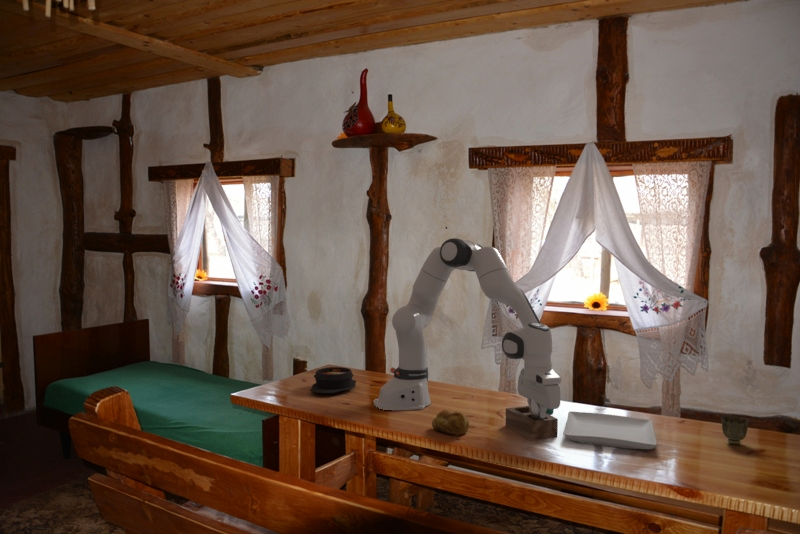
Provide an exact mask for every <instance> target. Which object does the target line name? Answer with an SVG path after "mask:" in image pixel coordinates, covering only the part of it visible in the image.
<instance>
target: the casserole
mask: <svg viewBox="0 0 800 534" xmlns="http://www.w3.org/2000/svg"><path fill="white" fill-rule="evenodd" d="M354 376H355V375H354V373H353V371H352V369H350V368H347V367H342V366H329V367H322V368H319V369H317V370H316V371H315V374H314V375H313V377H314V379H315V383H313V384H312V385H311V387H310V389H309V391H311V392H312V393H317V394H327V395H328V394H337V393H344V392H347V391H348V390H349V391H350V390H351V389H353V388H355V387H356V383H357V380H355V379H353V377H354Z"/></svg>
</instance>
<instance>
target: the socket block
mask: <svg viewBox="0 0 800 534" xmlns="http://www.w3.org/2000/svg"><path fill="white" fill-rule="evenodd" d="M558 421H559V420H558V418H557V417H555V416H553V415H549V414H547V413H545V418H544V419H541V420H533V419H532V418H531V412H530V411H529V405H523V406H514V407H506V408H505V426H506V427H508V428H509V429H510V430H512V431H513V432H516V433H517V434H519V435H520V436H522V437H524V438H526V439H527V440H529V441H531V440H532V441H537V440H539V441H540V440H546V439H553V438H554V439H555V438H558V430H559V429H558V428H559V427H558ZM532 441H531V442H532Z"/></svg>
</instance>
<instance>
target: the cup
mask: <svg viewBox="0 0 800 534" xmlns="http://www.w3.org/2000/svg"><path fill="white" fill-rule="evenodd" d="M720 418H721V419H720V420H721V429H722V433H723V435H724V437H725V438H727V442H728V443H727V444H730V445H732V446H740V445H741V444H742V441H743V440H744V439H745V438H746V437H747V433H748V427H749V420H748V419H747V418H744V417H740V418H739V416H738V415H736V416H735V415H733V416H732V417H731V415H728V416H727V415H723V416H722V415H721V417H720Z"/></svg>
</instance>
